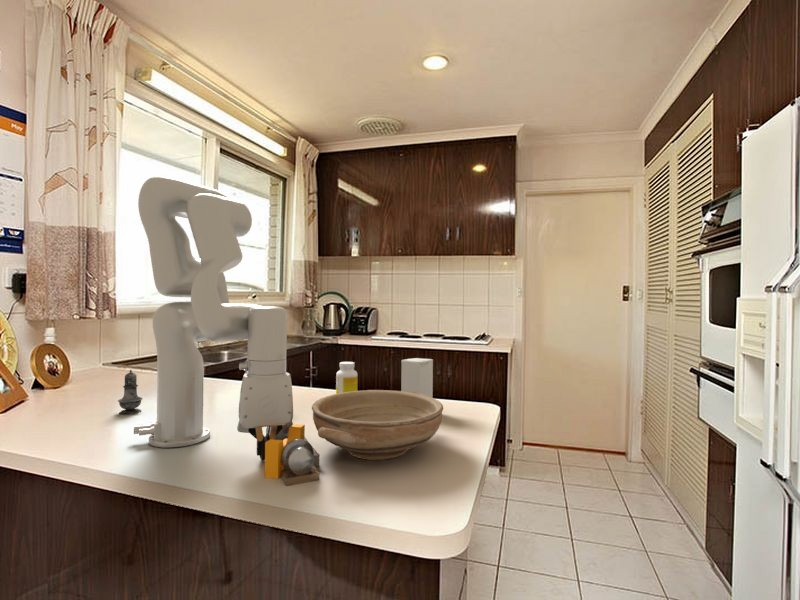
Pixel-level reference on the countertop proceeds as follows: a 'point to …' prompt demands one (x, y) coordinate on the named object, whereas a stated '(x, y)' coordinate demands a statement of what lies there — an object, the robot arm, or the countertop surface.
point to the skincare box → (417, 376)
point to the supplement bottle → (346, 378)
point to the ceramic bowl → (377, 421)
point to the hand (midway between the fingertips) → (264, 457)
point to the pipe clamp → (280, 451)
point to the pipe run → (298, 460)
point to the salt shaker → (130, 395)
